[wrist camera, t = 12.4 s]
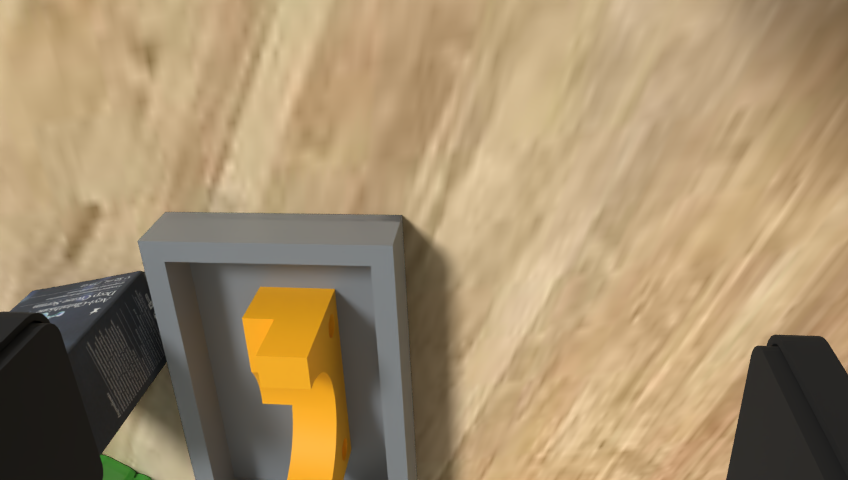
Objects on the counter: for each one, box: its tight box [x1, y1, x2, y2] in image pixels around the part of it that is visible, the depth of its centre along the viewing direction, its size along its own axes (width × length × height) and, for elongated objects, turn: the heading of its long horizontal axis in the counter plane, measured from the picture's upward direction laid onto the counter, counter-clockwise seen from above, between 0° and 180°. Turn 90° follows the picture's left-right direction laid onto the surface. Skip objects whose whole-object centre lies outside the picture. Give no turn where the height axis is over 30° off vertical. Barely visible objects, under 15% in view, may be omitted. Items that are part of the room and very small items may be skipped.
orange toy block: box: [242, 287, 351, 480], centre depth 42 cm, size 12×4×6 cm, turn 2°
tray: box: [138, 212, 417, 480], centre depth 45 cm, size 13×20×4 cm, turn 2°
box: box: [10, 271, 167, 455], centre depth 41 cm, size 8×6×11 cm
